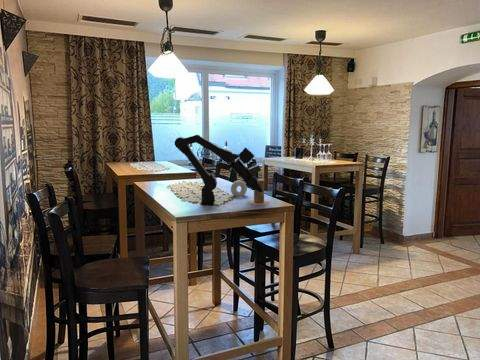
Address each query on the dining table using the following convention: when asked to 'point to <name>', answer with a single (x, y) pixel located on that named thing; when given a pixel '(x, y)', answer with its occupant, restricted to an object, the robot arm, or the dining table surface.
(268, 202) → the coaster
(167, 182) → the dining table surface
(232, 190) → the donut
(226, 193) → the dining table surface
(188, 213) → the dining table surface
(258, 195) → the walnut block
